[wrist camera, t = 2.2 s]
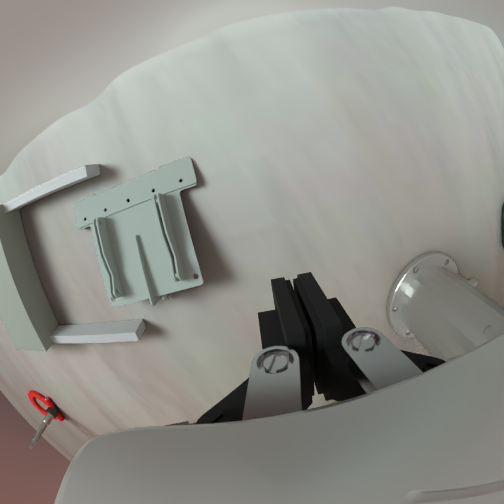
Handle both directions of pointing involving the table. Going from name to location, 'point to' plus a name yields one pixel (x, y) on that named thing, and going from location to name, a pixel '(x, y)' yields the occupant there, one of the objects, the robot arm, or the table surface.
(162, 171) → the metal bracket
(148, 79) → the table surface
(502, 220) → the coffee jar
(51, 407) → the tow hook
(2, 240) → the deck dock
